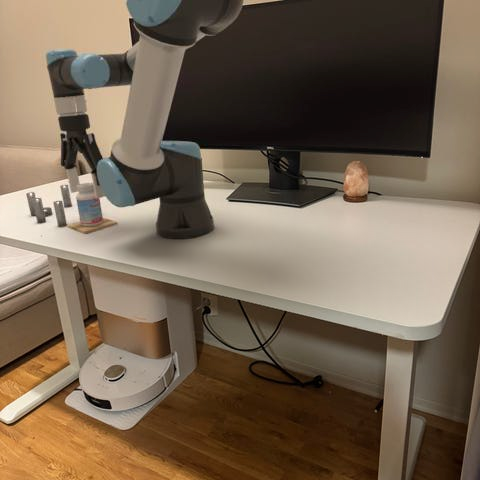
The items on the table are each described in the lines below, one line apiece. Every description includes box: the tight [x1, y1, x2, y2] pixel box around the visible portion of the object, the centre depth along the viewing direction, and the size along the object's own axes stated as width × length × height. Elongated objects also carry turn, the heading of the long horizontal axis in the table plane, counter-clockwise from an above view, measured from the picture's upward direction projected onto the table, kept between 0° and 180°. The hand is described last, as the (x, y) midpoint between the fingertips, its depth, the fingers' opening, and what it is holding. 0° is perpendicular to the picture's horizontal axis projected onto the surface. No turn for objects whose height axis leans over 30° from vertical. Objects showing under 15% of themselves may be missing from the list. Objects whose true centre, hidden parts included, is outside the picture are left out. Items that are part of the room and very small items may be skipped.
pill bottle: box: [75, 182, 104, 226], centre depth 129 cm, size 6×6×11 cm
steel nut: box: [43, 206, 53, 218], centre depth 144 cm, size 4×4×2 cm
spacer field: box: [26, 184, 73, 228], centre depth 141 cm, size 20×17×7 cm
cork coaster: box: [66, 217, 119, 235], centre depth 131 cm, size 10×10×1 cm
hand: (88, 194), depth 127 cm, fingers open, 13 cm apart
